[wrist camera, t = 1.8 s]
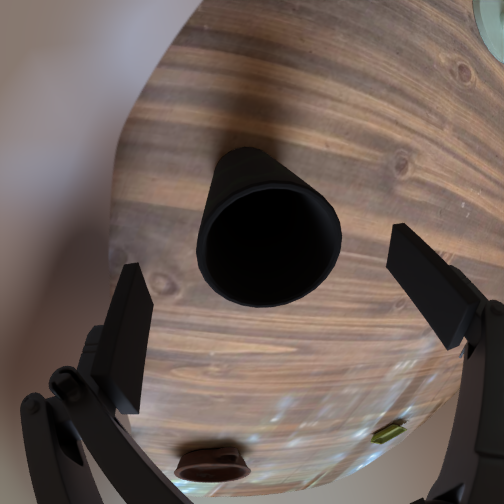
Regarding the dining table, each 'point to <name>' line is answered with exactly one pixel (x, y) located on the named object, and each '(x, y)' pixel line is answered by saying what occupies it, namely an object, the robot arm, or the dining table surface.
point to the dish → (212, 466)
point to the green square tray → (387, 434)
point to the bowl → (491, 25)
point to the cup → (265, 232)
